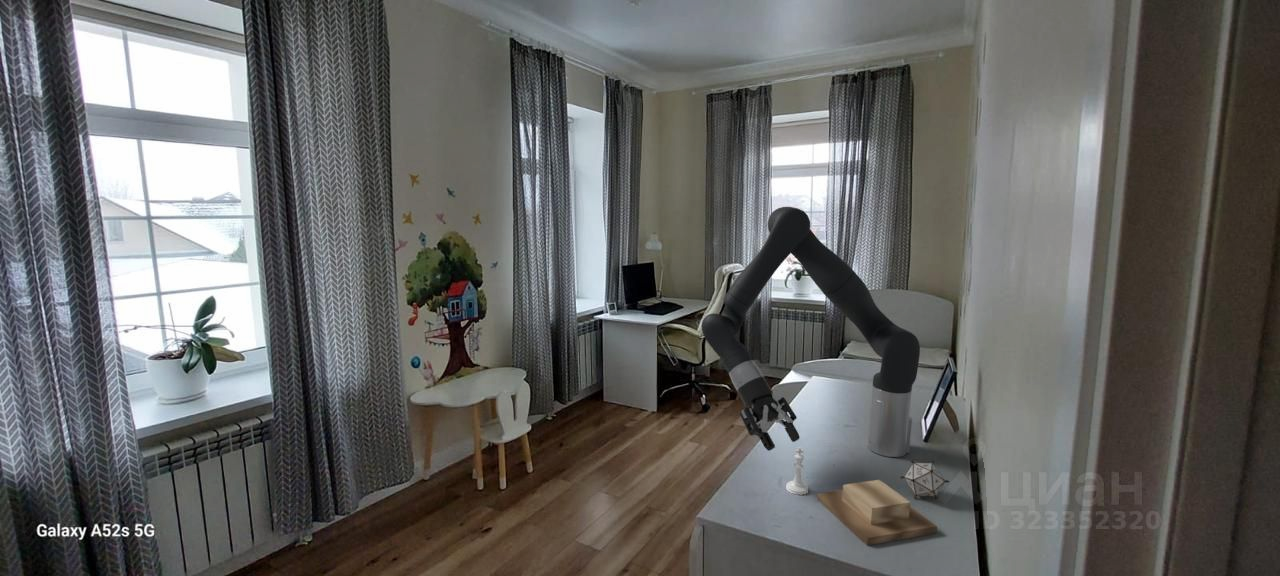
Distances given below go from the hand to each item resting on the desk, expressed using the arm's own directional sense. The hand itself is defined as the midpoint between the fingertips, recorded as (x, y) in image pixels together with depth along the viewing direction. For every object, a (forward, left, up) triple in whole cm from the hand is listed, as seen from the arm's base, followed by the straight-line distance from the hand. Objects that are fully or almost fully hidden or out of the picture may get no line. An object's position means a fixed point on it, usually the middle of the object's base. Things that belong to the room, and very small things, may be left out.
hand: (784, 444), depth 120 cm
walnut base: (-11, +17, -9) cm, 22 cm away
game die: (-27, +13, -9) cm, 32 cm away
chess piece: (-1, +4, -9) cm, 10 cm away
